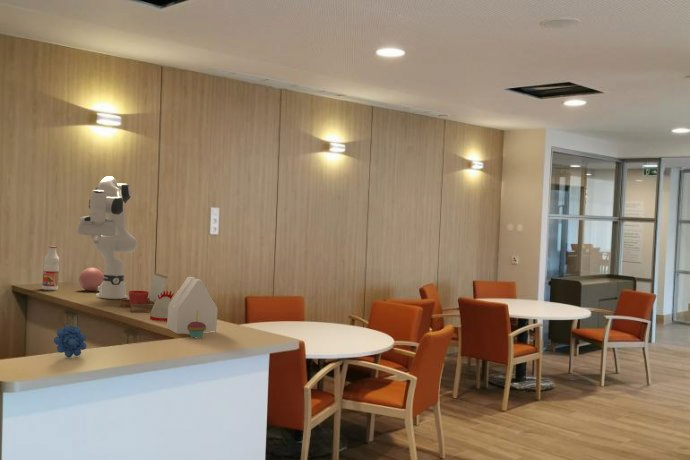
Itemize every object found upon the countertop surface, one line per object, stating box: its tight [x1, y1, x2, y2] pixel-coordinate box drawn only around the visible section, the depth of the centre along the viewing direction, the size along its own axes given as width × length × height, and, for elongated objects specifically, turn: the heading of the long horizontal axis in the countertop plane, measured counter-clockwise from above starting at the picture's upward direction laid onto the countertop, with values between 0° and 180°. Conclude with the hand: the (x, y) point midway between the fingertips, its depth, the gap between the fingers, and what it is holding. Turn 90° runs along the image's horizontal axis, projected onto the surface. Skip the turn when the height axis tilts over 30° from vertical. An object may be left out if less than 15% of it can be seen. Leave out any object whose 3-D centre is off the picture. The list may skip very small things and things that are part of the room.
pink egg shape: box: [78, 267, 105, 292], centre depth 447 cm, size 15×20×15 cm
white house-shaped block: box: [166, 276, 219, 335], centre depth 325 cm, size 19×15×25 cm
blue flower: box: [53, 324, 87, 358], centre depth 250 cm, size 12×7×12 cm, turn 125°
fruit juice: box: [41, 245, 60, 291], centre depth 440 cm, size 9×9×28 cm
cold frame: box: [119, 298, 156, 313], centre depth 382 cm, size 23×16×5 cm
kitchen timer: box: [149, 290, 175, 322], centre depth 353 cm, size 14×14×15 cm
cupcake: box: [187, 312, 206, 338], centre depth 308 cm, size 9×8×12 cm
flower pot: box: [128, 290, 150, 308], centre depth 382 cm, size 11×11×10 cm
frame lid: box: [148, 272, 168, 302], centre depth 387 cm, size 21×15×1 cm
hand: (95, 243), depth 381 cm, fingers closed
